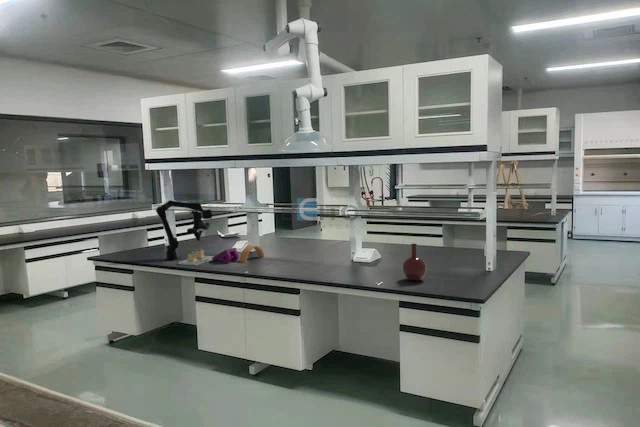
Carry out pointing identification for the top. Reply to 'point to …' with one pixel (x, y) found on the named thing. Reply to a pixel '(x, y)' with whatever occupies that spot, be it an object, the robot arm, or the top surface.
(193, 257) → the fixed leg
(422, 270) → the round-bottom flask
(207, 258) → the pitch plate
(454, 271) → the top surface
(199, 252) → the sliding leg
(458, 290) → the top surface
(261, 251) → the arch
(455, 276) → the top surface
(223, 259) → the mounting bracket
